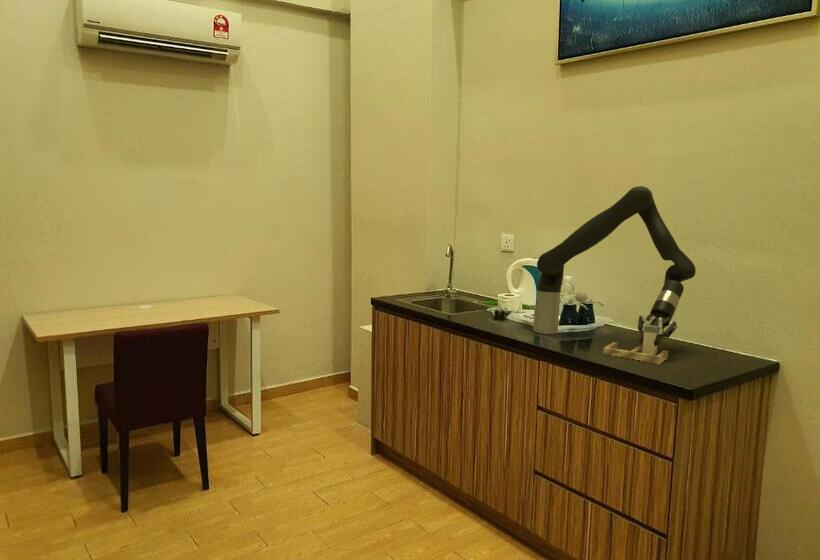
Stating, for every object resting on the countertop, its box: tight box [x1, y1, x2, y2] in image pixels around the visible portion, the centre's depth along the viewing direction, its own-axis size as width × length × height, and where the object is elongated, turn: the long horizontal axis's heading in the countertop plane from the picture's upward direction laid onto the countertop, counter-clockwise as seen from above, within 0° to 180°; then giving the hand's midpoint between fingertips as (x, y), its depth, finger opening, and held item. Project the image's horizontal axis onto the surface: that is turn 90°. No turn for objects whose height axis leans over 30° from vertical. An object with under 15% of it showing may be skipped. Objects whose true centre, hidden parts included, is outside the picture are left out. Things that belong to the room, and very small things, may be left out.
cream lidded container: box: [642, 324, 659, 355], centre depth 227 cm, size 4×4×10 cm
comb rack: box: [602, 341, 669, 365], centre depth 230 cm, size 20×12×2 cm, turn 56°
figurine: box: [476, 300, 537, 321], centre depth 298 cm, size 28×6×30 cm
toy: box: [567, 290, 594, 305], centre depth 281 cm, size 11×7×15 cm, turn 84°
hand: (648, 343), depth 226 cm, fingers closed on cream lidded container, 4 cm apart
